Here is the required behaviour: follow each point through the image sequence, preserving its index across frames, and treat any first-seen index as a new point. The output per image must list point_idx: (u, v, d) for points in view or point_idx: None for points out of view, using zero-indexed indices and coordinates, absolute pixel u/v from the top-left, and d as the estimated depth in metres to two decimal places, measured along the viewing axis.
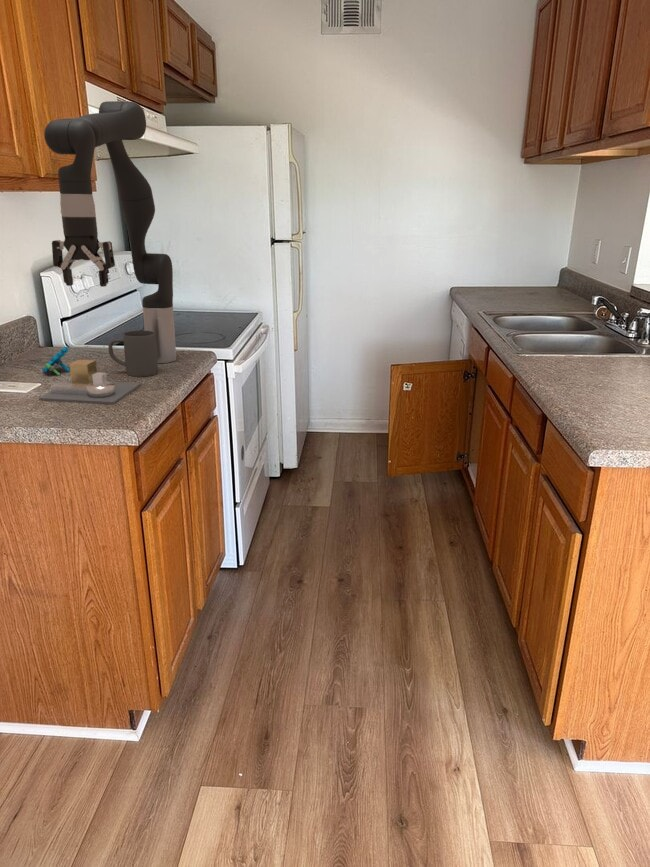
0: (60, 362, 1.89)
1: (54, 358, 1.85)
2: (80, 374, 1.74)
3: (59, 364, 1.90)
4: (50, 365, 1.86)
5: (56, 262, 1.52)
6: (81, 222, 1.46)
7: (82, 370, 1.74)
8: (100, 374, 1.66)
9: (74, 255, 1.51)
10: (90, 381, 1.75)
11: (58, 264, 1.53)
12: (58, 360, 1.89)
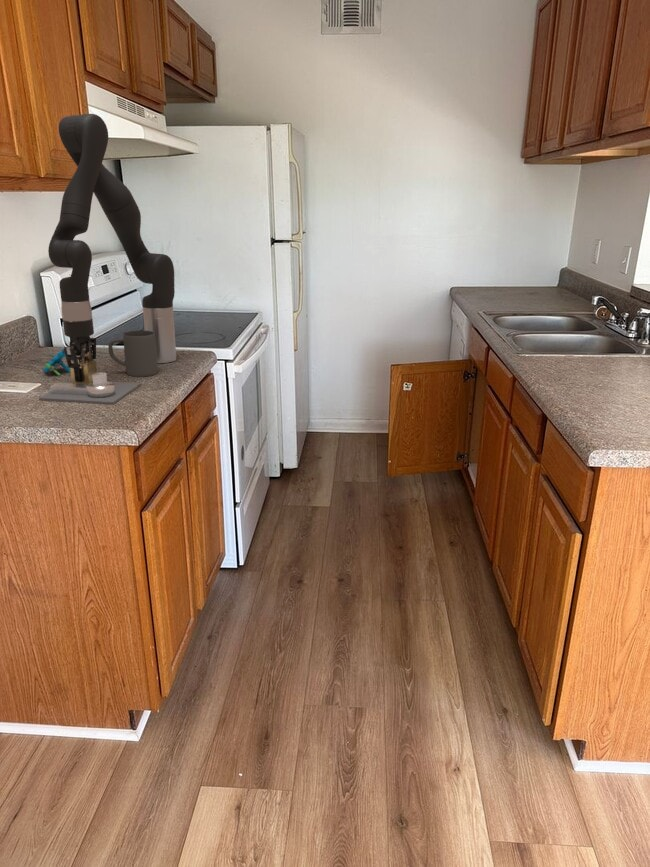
0: (61, 362, 1.89)
1: (54, 358, 1.85)
2: None
3: (60, 364, 1.90)
4: (50, 365, 1.86)
5: (77, 364, 1.70)
6: None
7: None
8: (100, 374, 1.66)
9: None
10: (90, 381, 1.75)
11: None
12: (59, 360, 1.89)
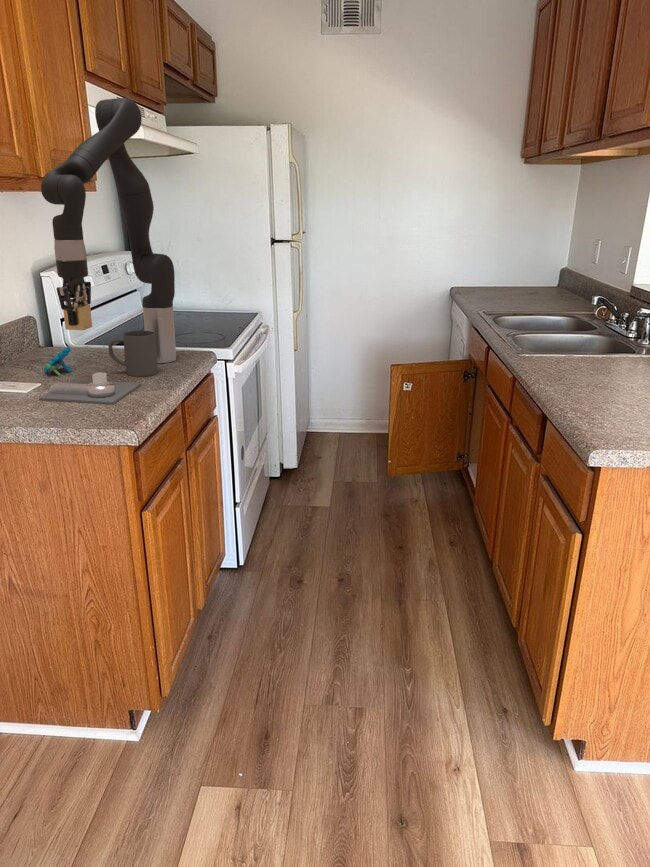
0: (61, 362, 1.89)
1: (55, 358, 1.85)
2: None
3: (61, 364, 1.89)
4: (51, 365, 1.86)
5: (71, 305, 1.65)
6: None
7: None
8: (100, 374, 1.66)
9: None
10: (84, 325, 1.69)
11: None
12: (60, 360, 1.89)
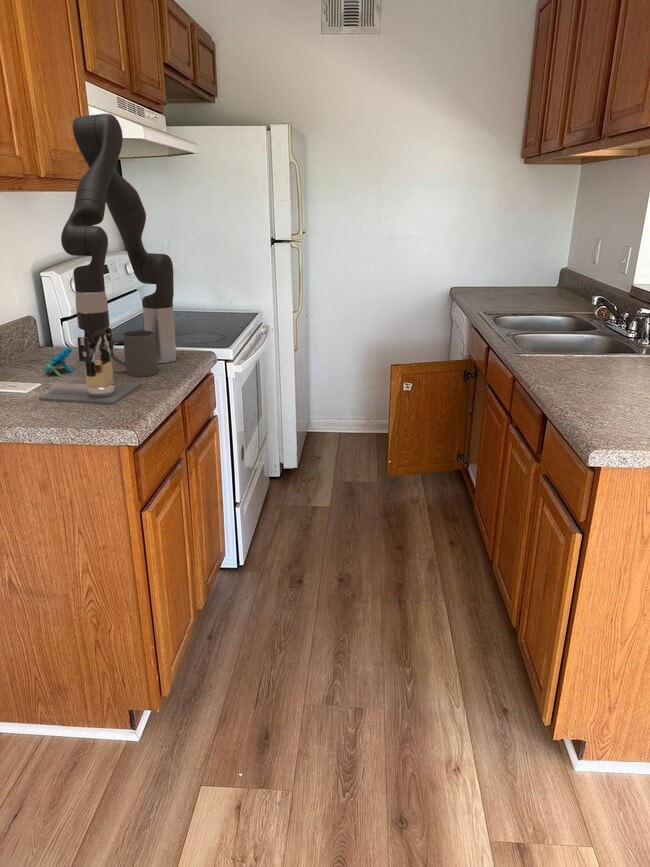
0: (62, 363, 1.89)
1: (55, 358, 1.85)
2: None
3: (62, 364, 1.89)
4: (51, 365, 1.86)
5: (90, 357, 1.58)
6: None
7: (98, 371, 1.63)
8: None
9: None
10: (106, 383, 1.65)
11: None
12: (61, 360, 1.89)
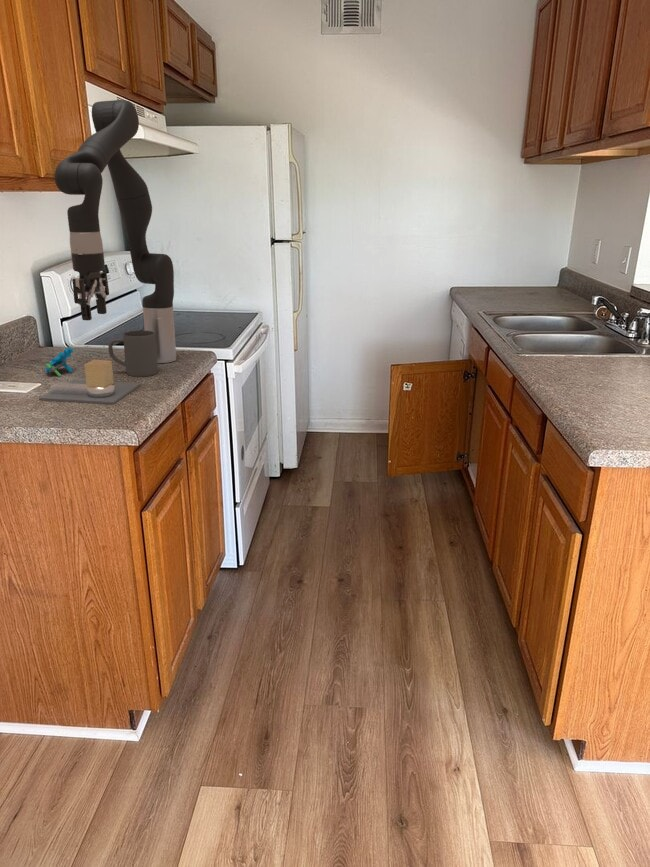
0: (63, 363, 1.89)
1: (55, 359, 1.84)
2: (95, 375, 1.64)
3: (62, 365, 1.89)
4: (51, 365, 1.86)
5: (85, 299, 1.55)
6: None
7: (98, 371, 1.63)
8: None
9: None
10: (106, 383, 1.65)
11: None
12: (61, 361, 1.89)
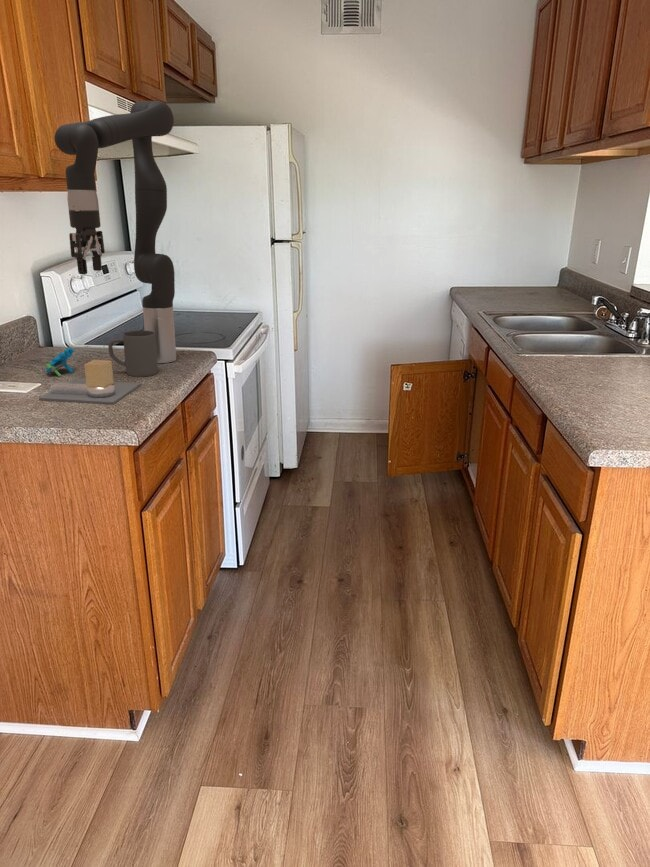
0: (63, 363, 1.88)
1: (55, 359, 1.84)
2: (95, 375, 1.64)
3: (63, 365, 1.89)
4: (52, 365, 1.86)
5: (81, 253, 1.65)
6: None
7: (98, 371, 1.63)
8: None
9: None
10: (106, 383, 1.65)
11: None
12: (62, 361, 1.89)
